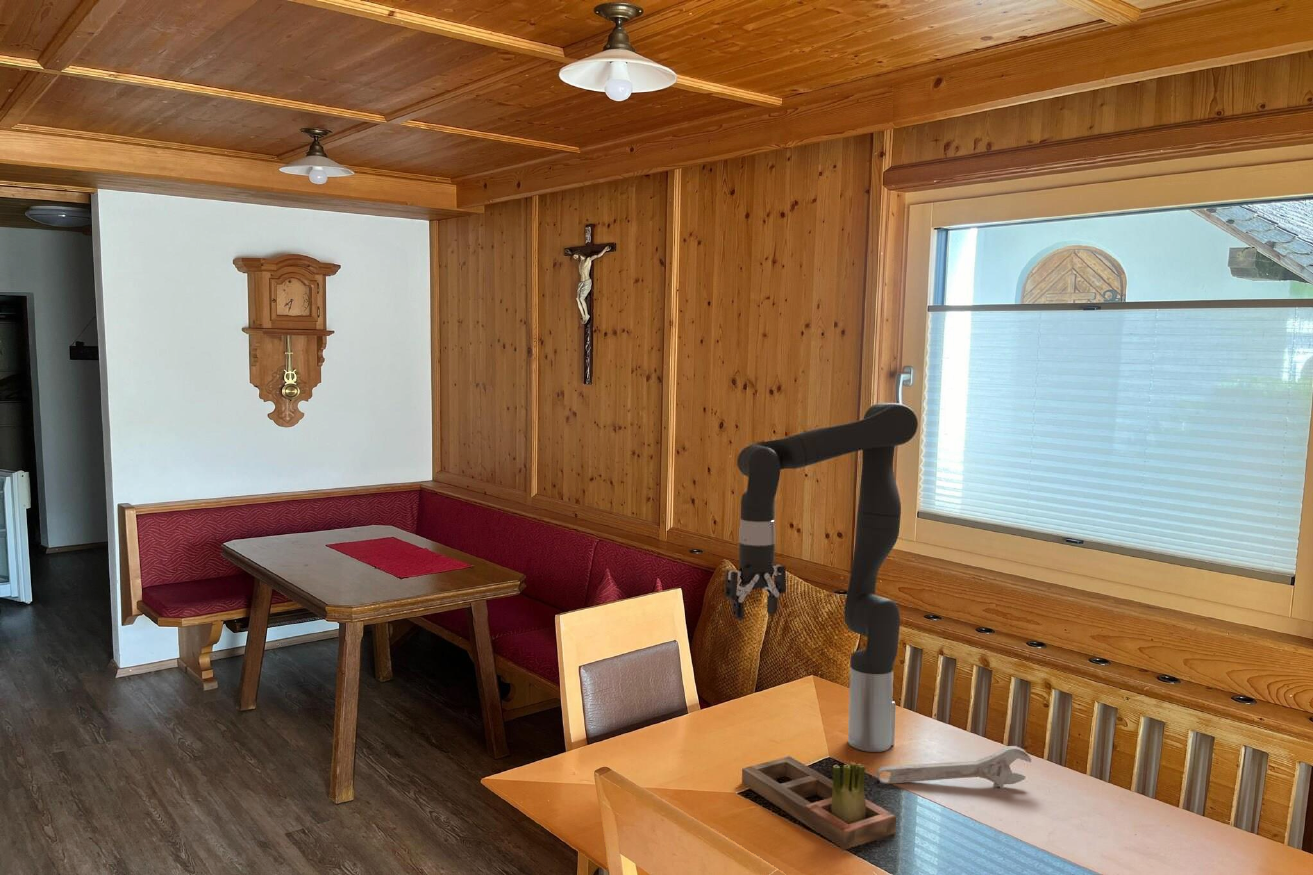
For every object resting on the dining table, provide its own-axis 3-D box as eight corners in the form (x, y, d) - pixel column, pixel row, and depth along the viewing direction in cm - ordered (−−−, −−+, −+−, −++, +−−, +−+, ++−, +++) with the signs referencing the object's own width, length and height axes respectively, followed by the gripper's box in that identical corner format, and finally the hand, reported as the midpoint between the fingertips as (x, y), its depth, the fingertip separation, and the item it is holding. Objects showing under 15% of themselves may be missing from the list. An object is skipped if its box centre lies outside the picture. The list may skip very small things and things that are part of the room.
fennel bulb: (829, 830, 170) (831, 766, 169) (834, 818, 174) (836, 755, 173) (862, 837, 167) (864, 771, 167) (866, 824, 172) (868, 760, 171)
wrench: (878, 793, 191) (1030, 783, 189) (880, 797, 190) (1033, 787, 187) (875, 754, 191) (1027, 744, 188) (876, 758, 189) (1030, 748, 186)
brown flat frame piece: (789, 770, 195) (789, 754, 194) (895, 833, 169) (896, 815, 169) (741, 782, 189) (742, 766, 188) (844, 850, 163) (845, 831, 163)
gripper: (739, 546, 192) (738, 625, 193) (794, 540, 199) (793, 616, 200) (718, 540, 198) (717, 616, 199) (772, 534, 205) (771, 608, 207)
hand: (755, 616), depth 200 cm, fingers open, 8 cm apart
